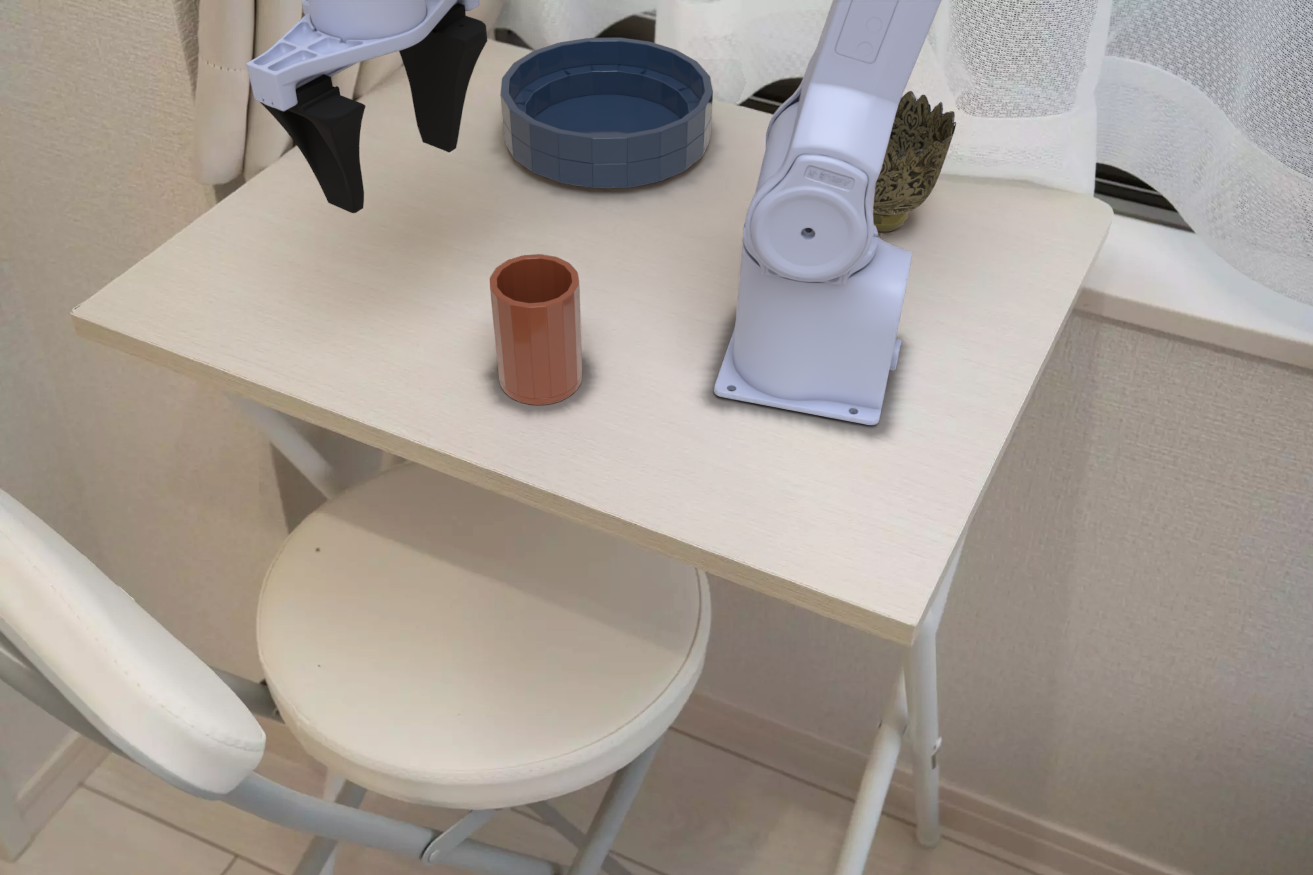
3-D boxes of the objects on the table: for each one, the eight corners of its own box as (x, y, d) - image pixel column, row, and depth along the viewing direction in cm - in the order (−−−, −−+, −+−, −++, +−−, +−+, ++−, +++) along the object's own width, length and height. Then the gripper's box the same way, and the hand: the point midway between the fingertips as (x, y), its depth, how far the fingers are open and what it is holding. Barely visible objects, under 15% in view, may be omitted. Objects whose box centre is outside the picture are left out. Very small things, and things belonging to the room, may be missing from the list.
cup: (592, 359, 70) (589, 262, 65) (567, 412, 67) (562, 313, 62) (515, 345, 71) (507, 248, 66) (487, 396, 67) (476, 298, 63)
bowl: (728, 107, 92) (732, 52, 89) (681, 210, 82) (683, 152, 78) (543, 80, 95) (541, 26, 92) (475, 176, 84) (469, 119, 81)
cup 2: (913, 264, 78) (936, 156, 72) (809, 233, 80) (823, 126, 74) (947, 208, 82) (970, 103, 77) (848, 181, 85) (863, 77, 79)
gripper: (396, -135, 62) (427, 101, 72) (176, -47, 53) (244, 210, 63) (501, -107, 59) (518, 135, 69) (287, -8, 51) (341, 254, 60)
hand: (394, 174), depth 66 cm, fingers open, 7 cm apart
